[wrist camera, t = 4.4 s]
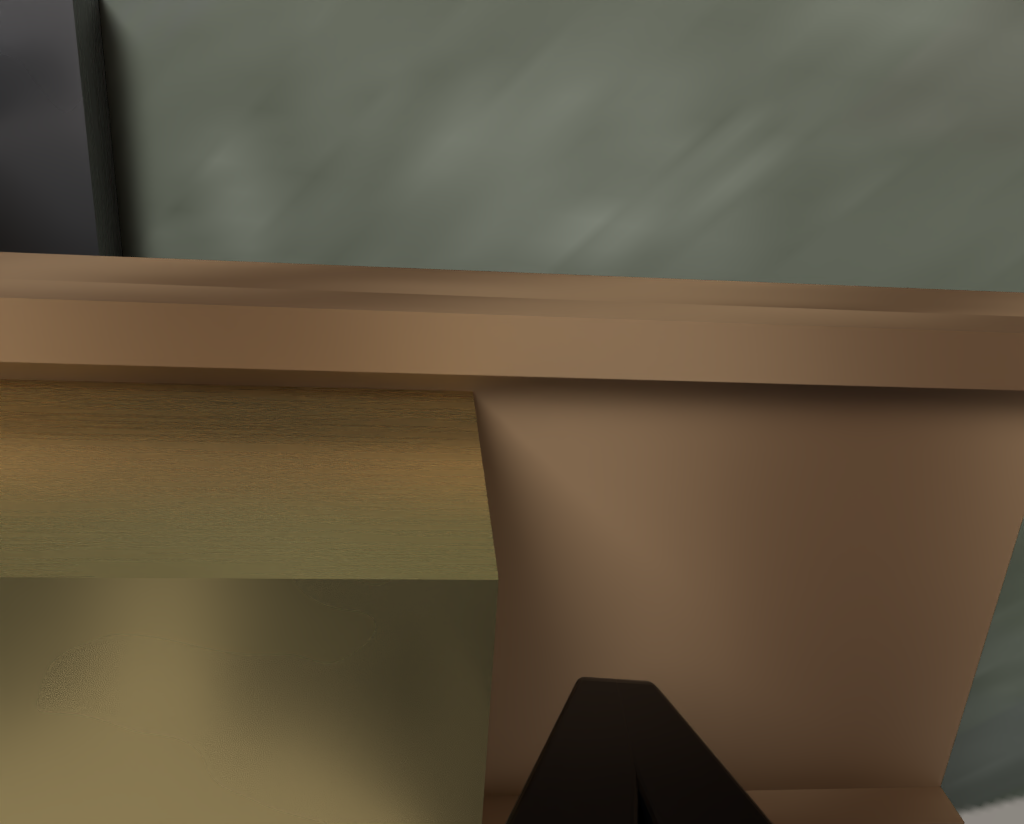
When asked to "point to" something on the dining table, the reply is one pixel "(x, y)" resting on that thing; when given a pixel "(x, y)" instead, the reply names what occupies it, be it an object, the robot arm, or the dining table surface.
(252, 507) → the brass rider
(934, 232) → the dining table surface
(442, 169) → the dining table surface
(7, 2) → the stand
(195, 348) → the balance beam
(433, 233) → the dining table surface
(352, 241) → the dining table surface
